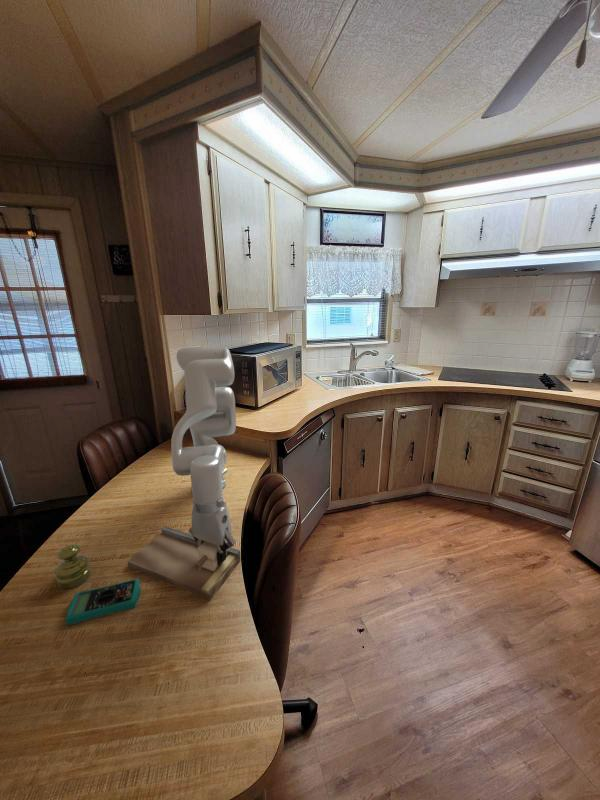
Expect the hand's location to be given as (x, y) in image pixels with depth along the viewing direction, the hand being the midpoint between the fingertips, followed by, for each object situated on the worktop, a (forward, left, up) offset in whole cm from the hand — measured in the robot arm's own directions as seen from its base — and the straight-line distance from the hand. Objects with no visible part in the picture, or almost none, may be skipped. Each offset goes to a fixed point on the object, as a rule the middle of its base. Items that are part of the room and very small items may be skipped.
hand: (213, 558), depth 85 cm
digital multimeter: (+19, -18, -4) cm, 27 cm away
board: (+2, -8, -3) cm, 9 cm away
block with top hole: (+2, 0, -1) cm, 2 cm away
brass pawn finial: (+17, -32, -3) cm, 37 cm away
